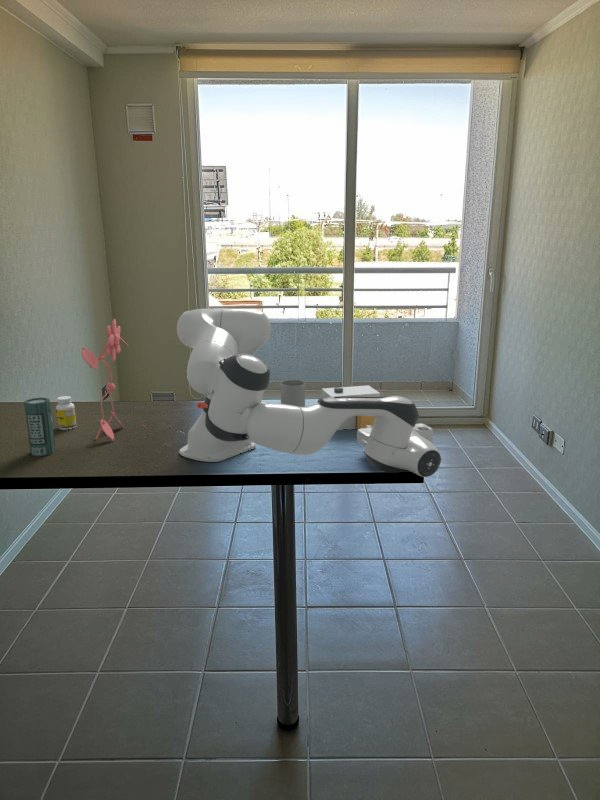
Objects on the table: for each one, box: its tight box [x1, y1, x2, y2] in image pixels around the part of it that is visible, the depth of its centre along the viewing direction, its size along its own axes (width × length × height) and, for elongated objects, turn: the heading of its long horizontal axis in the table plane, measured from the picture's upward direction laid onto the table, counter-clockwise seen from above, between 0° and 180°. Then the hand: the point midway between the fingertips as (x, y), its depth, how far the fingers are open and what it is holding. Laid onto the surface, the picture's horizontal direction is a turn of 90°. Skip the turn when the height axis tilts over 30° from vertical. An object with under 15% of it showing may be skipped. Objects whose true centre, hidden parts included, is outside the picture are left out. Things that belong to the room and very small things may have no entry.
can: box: [23, 397, 56, 457], centre depth 164 cm, size 6×6×15 cm
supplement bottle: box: [55, 395, 77, 431], centre depth 185 cm, size 5×5×10 cm
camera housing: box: [317, 385, 381, 431], centre depth 188 cm, size 10×19×12 cm, turn 105°
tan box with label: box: [356, 416, 376, 431], centre depth 183 cm, size 4×6×9 cm
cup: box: [280, 379, 306, 407], centre depth 203 cm, size 8×8×10 cm
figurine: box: [81, 318, 149, 446], centre depth 176 cm, size 15×26×35 cm, turn 179°
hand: (383, 426), depth 171 cm, fingers open, 8 cm apart
